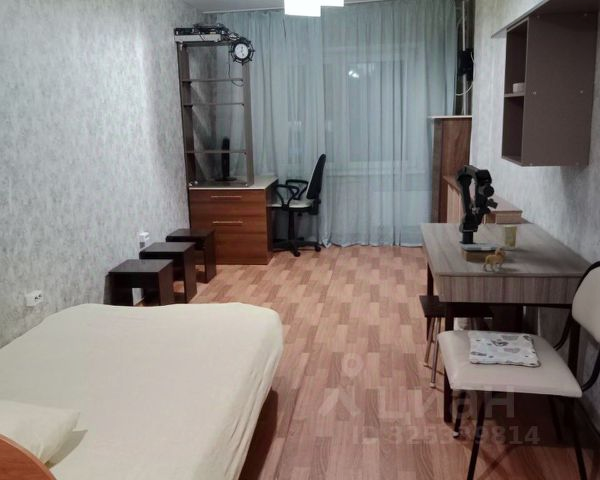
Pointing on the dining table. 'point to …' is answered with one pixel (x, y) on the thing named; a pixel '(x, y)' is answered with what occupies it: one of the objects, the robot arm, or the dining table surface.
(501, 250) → the lion figurine
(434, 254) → the dining table surface
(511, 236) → the skincare box
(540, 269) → the dining table surface
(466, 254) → the walnut box
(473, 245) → the lid
